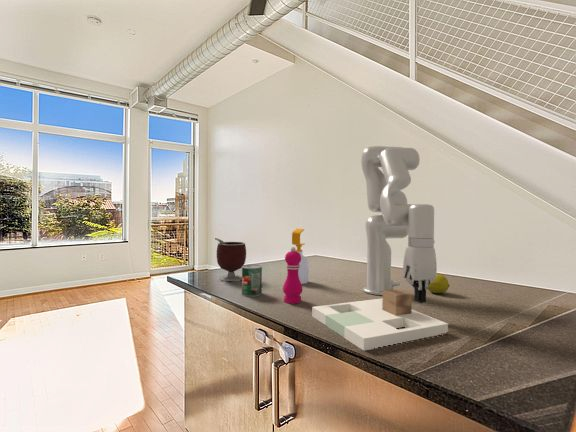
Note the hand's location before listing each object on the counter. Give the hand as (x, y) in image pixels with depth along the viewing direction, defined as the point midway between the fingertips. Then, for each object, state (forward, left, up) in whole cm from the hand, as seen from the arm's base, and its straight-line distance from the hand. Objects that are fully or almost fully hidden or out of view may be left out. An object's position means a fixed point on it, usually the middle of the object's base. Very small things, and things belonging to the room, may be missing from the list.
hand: (420, 301), depth 104 cm
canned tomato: (+41, -46, -6) cm, 62 cm away
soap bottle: (+15, -58, -6) cm, 61 cm away
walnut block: (+9, 0, -2) cm, 9 cm away
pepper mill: (+30, -31, -6) cm, 44 cm away
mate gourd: (+43, -75, -6) cm, 87 cm away
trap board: (+17, 0, -5) cm, 18 cm away
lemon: (-30, -21, -6) cm, 37 cm away
